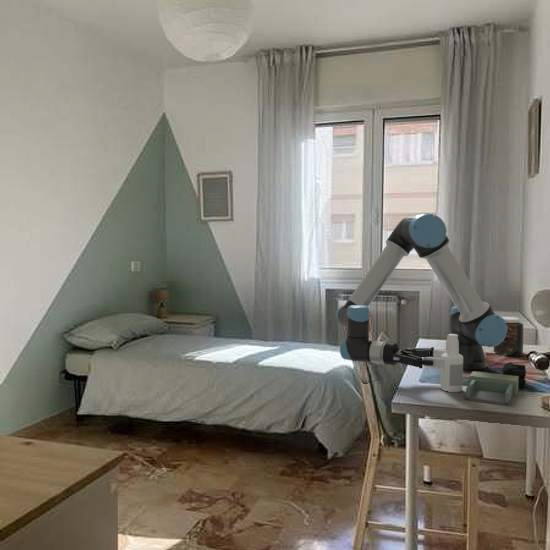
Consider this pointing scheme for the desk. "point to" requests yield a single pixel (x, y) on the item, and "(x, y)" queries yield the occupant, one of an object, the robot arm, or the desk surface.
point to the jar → (511, 338)
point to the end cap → (516, 373)
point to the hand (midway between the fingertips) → (449, 359)
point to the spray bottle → (452, 366)
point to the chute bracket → (492, 388)
